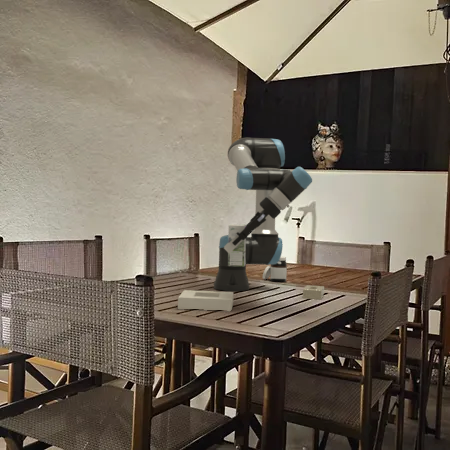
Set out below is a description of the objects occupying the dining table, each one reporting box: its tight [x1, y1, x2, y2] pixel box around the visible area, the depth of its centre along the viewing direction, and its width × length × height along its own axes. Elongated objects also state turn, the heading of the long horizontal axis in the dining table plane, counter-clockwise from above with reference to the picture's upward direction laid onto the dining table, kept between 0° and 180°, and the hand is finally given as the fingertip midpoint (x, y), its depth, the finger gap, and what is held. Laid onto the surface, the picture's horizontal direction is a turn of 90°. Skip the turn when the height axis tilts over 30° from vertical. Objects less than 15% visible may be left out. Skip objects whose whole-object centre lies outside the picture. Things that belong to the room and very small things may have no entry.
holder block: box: [177, 289, 235, 312], centre depth 191 cm, size 18×16×4 cm
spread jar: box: [262, 256, 288, 283], centre depth 262 cm, size 12×11×12 cm
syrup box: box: [227, 223, 247, 267], centre depth 190 cm, size 6×6×14 cm
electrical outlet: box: [302, 284, 325, 301], centre depth 222 cm, size 7×4×18 cm
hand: (226, 249), depth 190 cm, fingers closed on syrup box, 6 cm apart
